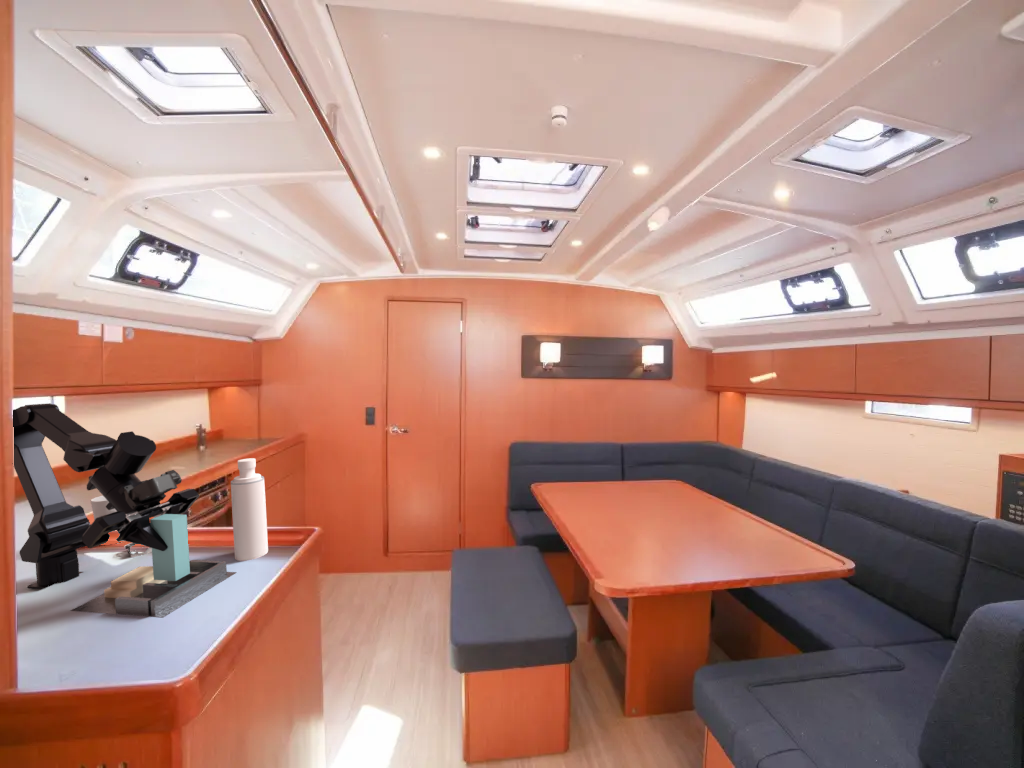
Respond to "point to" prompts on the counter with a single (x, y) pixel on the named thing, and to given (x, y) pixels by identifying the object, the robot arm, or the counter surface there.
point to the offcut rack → (163, 593)
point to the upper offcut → (133, 578)
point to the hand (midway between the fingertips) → (174, 545)
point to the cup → (100, 507)
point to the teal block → (171, 547)
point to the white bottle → (249, 512)
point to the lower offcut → (127, 591)
